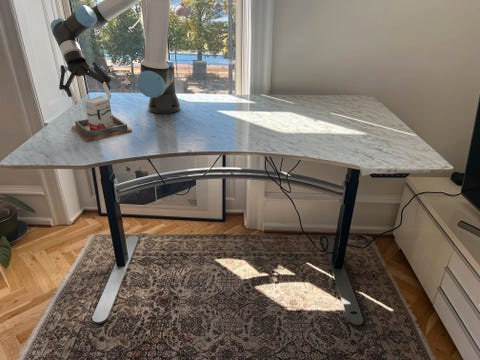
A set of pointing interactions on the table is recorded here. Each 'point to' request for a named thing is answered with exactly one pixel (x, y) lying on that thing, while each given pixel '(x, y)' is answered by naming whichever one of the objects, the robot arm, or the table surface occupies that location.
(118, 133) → the tray
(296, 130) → the table surface
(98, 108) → the ink box
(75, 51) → the robot arm
